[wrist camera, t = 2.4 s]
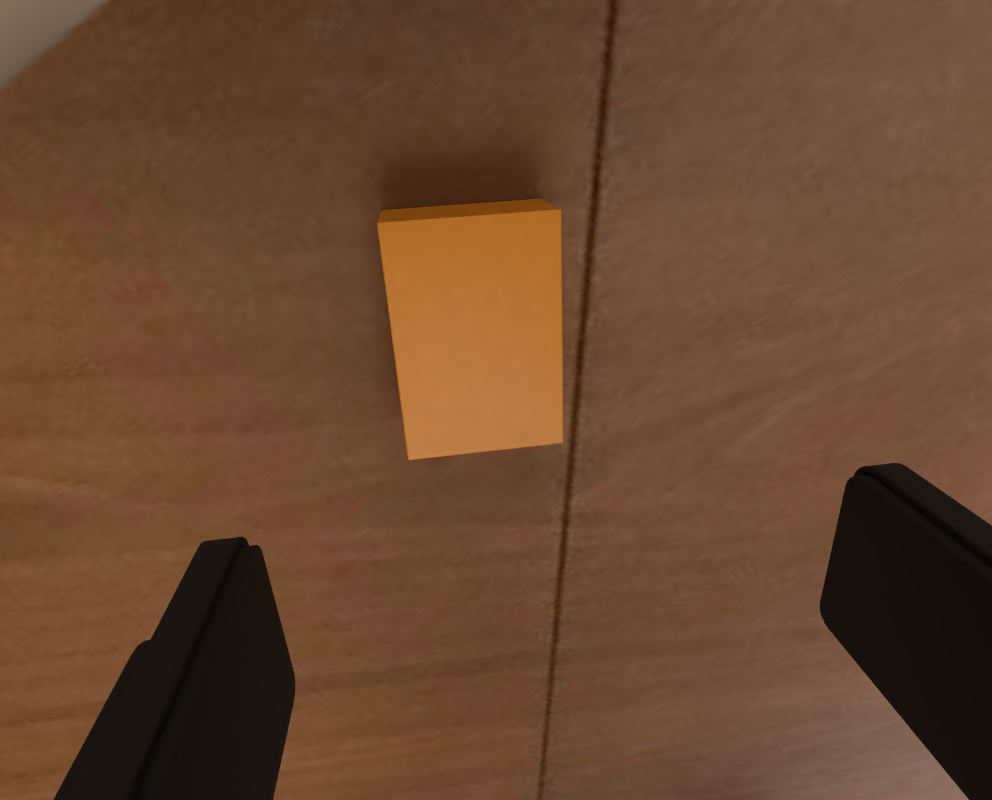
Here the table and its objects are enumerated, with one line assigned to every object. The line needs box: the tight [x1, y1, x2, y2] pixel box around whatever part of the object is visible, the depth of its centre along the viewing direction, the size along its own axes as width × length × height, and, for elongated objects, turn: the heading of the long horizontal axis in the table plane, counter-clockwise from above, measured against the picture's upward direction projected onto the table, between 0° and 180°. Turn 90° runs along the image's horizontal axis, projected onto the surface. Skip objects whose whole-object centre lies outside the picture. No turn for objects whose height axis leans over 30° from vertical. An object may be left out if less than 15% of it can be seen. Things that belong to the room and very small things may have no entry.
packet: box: [377, 199, 563, 460], centre depth 21 cm, size 8×6×3 cm
